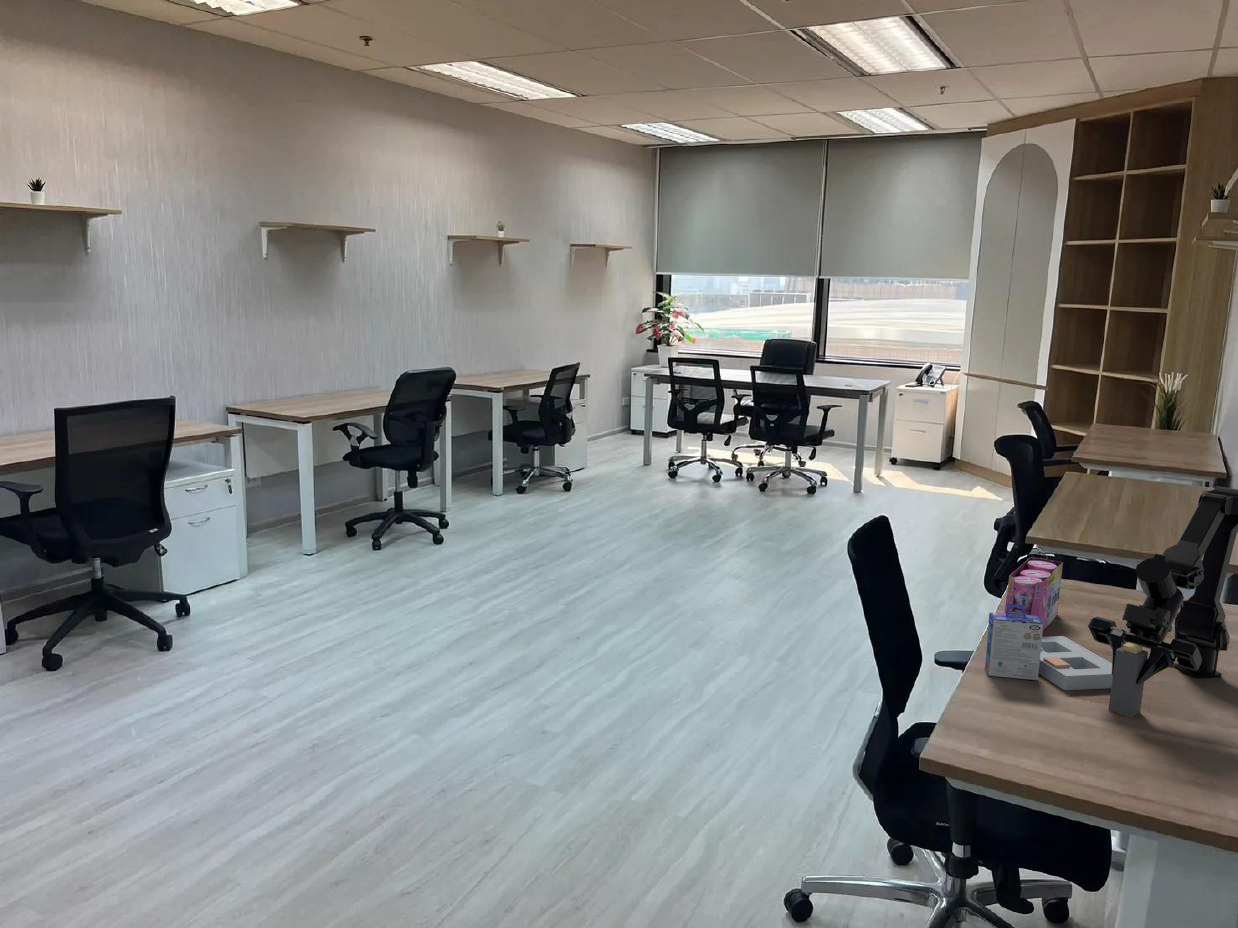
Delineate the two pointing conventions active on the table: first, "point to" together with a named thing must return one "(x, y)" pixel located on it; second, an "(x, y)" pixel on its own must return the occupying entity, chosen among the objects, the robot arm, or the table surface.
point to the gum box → (1036, 588)
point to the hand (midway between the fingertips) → (1125, 679)
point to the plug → (1127, 680)
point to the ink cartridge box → (1014, 644)
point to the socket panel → (1073, 665)
